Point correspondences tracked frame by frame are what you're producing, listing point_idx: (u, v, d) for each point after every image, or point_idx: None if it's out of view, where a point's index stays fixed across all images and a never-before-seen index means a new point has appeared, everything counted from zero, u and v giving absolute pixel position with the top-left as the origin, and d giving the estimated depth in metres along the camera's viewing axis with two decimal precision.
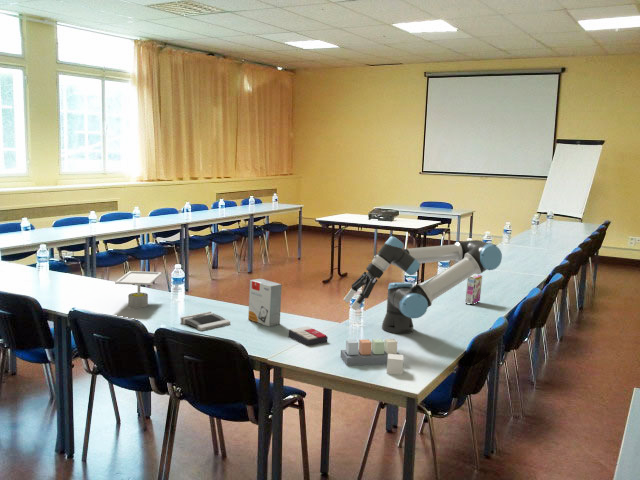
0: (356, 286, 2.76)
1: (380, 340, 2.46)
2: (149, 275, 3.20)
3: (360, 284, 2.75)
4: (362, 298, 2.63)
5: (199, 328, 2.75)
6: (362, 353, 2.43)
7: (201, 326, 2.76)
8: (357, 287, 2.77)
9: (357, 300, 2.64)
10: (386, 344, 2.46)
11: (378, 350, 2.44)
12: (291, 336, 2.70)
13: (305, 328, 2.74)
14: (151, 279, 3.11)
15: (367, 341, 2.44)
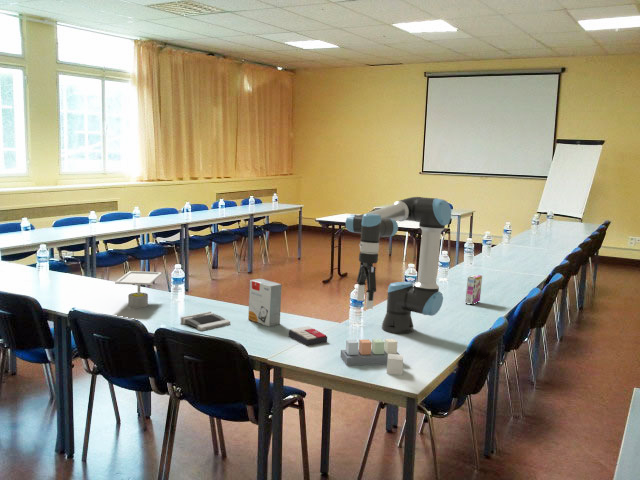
0: (361, 280, 2.49)
1: (380, 340, 2.46)
2: (149, 275, 3.20)
3: (363, 277, 2.47)
4: (371, 294, 2.35)
5: (199, 328, 2.75)
6: (362, 353, 2.43)
7: (201, 326, 2.76)
8: (363, 281, 2.49)
9: (368, 298, 2.36)
10: (386, 344, 2.46)
11: (378, 350, 2.44)
12: (291, 336, 2.70)
13: (305, 328, 2.75)
14: (151, 279, 3.11)
15: (367, 341, 2.44)
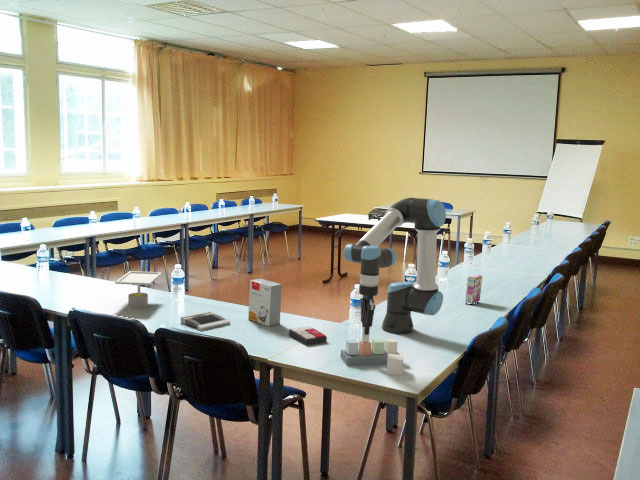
0: None
1: (380, 340, 2.46)
2: (149, 275, 3.20)
3: None
4: (367, 328, 2.42)
5: (199, 328, 2.75)
6: (362, 354, 2.43)
7: (201, 326, 2.76)
8: None
9: (364, 332, 2.43)
10: (386, 344, 2.46)
11: (378, 350, 2.44)
12: (291, 335, 2.71)
13: (306, 328, 2.75)
14: (151, 279, 3.11)
15: (367, 342, 2.44)
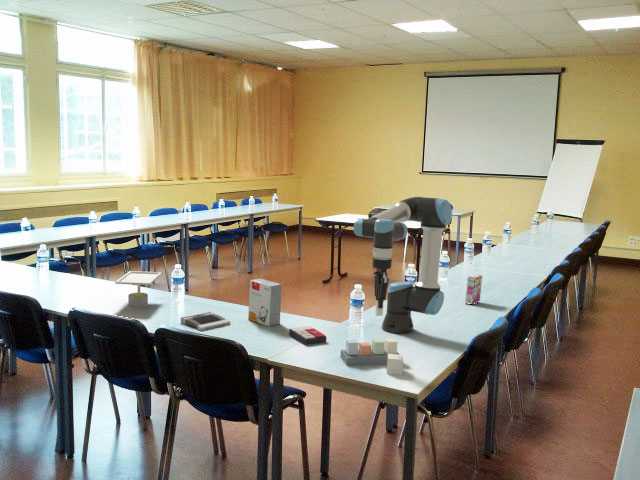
0: None
1: (380, 340, 2.46)
2: (149, 275, 3.20)
3: None
4: (381, 302, 2.42)
5: (199, 328, 2.75)
6: None
7: (201, 326, 2.76)
8: None
9: (378, 306, 2.43)
10: (386, 344, 2.46)
11: (378, 350, 2.44)
12: (291, 335, 2.72)
13: (306, 328, 2.75)
14: (151, 279, 3.11)
15: (367, 344, 2.44)
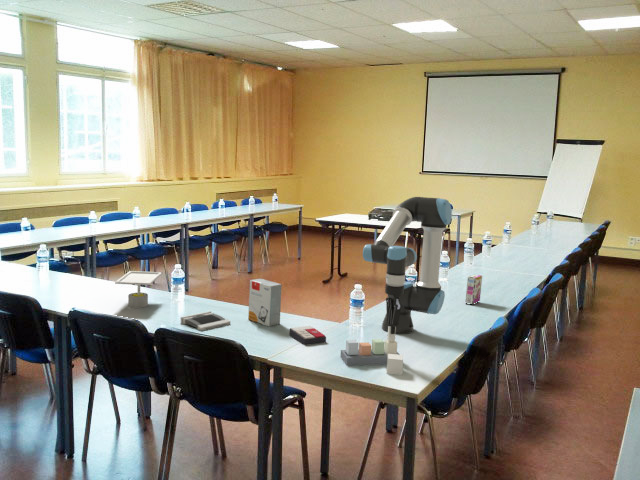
0: None
1: (380, 340, 2.46)
2: (149, 275, 3.20)
3: None
4: (393, 327, 2.44)
5: (199, 328, 2.75)
6: None
7: (201, 326, 2.76)
8: None
9: (390, 331, 2.45)
10: (386, 345, 2.47)
11: (378, 350, 2.44)
12: (291, 335, 2.72)
13: (306, 327, 2.75)
14: (151, 279, 3.11)
15: (367, 344, 2.44)
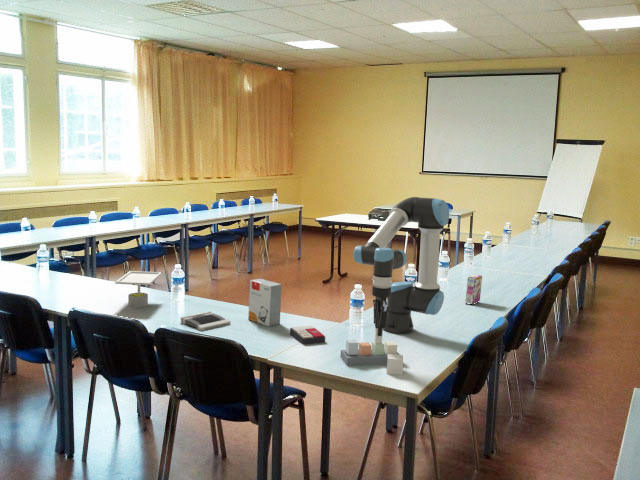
0: None
1: None
2: (149, 275, 3.20)
3: None
4: (380, 329, 2.43)
5: (199, 328, 2.75)
6: None
7: (201, 326, 2.76)
8: None
9: (377, 333, 2.44)
10: (386, 347, 2.47)
11: (378, 353, 2.44)
12: (291, 334, 2.73)
13: (307, 327, 2.76)
14: (151, 279, 3.11)
15: (367, 344, 2.44)
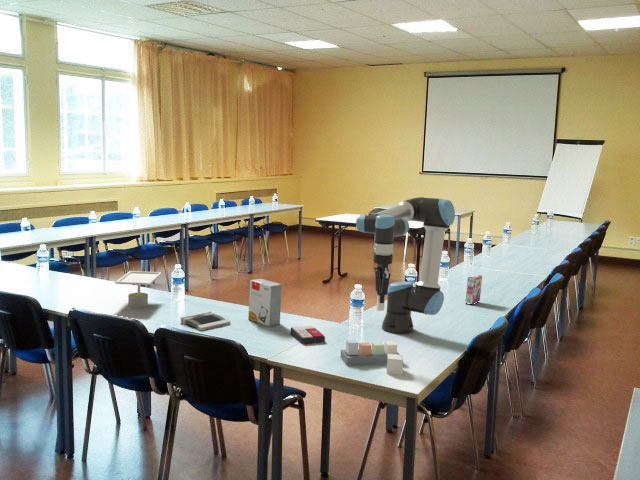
0: None
1: (379, 343, 2.46)
2: (149, 275, 3.20)
3: None
4: (382, 296, 2.45)
5: (199, 328, 2.75)
6: None
7: (201, 326, 2.76)
8: None
9: (379, 301, 2.46)
10: (386, 347, 2.47)
11: (378, 353, 2.44)
12: (292, 334, 2.74)
13: (307, 327, 2.76)
14: (151, 279, 3.11)
15: (367, 344, 2.44)
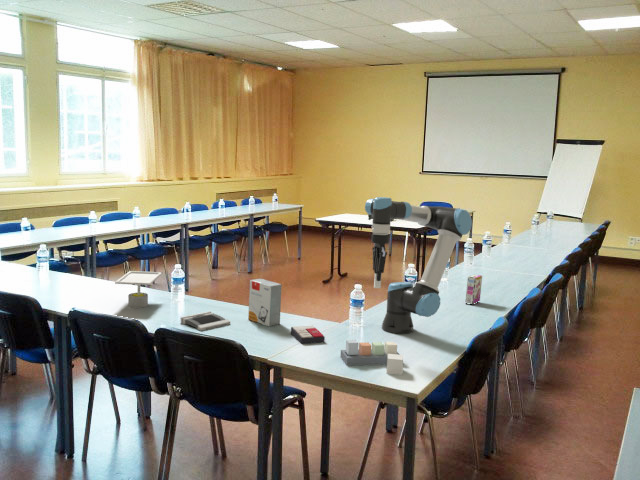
0: None
1: (379, 343, 2.46)
2: (149, 275, 3.20)
3: None
4: (379, 275, 2.58)
5: (199, 328, 2.75)
6: None
7: (201, 326, 2.76)
8: None
9: (376, 279, 2.59)
10: (386, 347, 2.47)
11: (378, 353, 2.44)
12: (292, 333, 2.74)
13: (308, 327, 2.76)
14: (151, 279, 3.11)
15: (367, 344, 2.44)
